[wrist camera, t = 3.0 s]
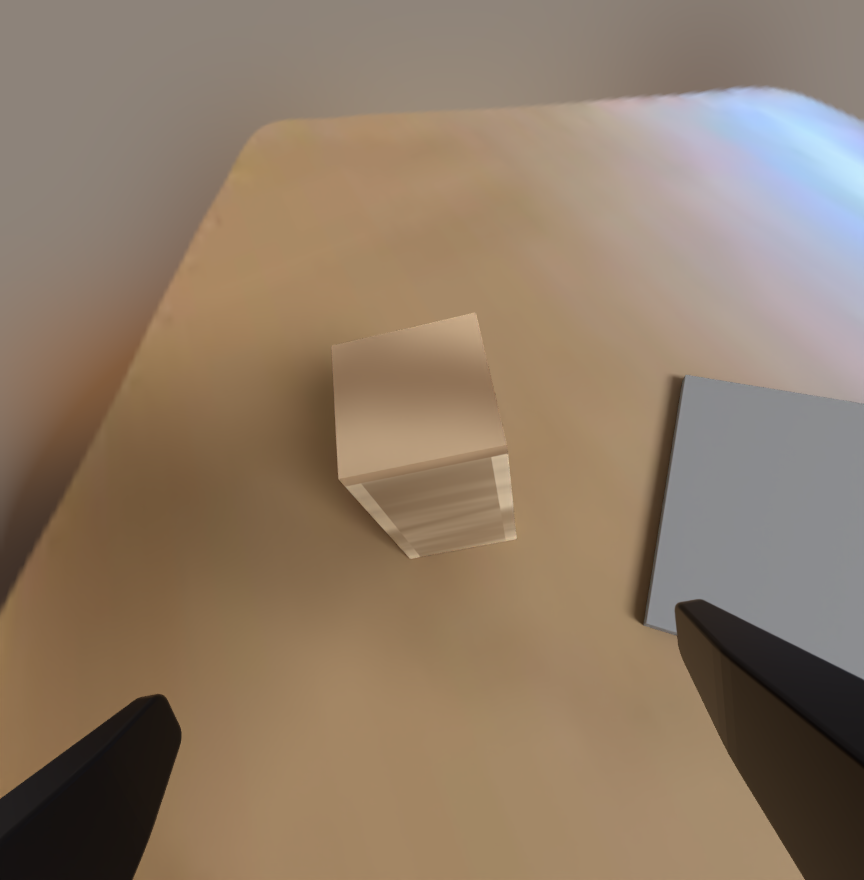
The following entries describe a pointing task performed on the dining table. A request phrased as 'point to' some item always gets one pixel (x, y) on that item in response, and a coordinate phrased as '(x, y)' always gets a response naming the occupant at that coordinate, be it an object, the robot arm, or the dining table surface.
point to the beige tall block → (424, 436)
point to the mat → (766, 516)
